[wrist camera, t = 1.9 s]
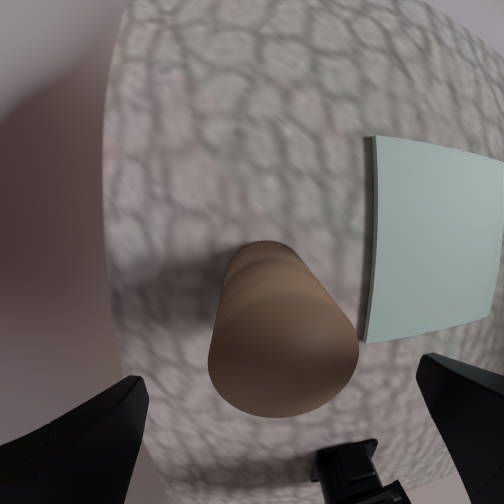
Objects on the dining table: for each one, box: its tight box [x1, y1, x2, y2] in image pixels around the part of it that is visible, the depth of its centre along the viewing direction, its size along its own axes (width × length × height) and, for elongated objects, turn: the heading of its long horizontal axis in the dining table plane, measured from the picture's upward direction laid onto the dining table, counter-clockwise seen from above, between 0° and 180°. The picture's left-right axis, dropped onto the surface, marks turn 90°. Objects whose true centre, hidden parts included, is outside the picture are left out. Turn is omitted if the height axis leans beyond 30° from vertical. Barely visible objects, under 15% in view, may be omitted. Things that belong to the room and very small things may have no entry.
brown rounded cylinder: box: [208, 241, 359, 418], centre depth 13 cm, size 5×5×9 cm
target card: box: [363, 135, 504, 344], centre depth 17 cm, size 14×14×1 cm
